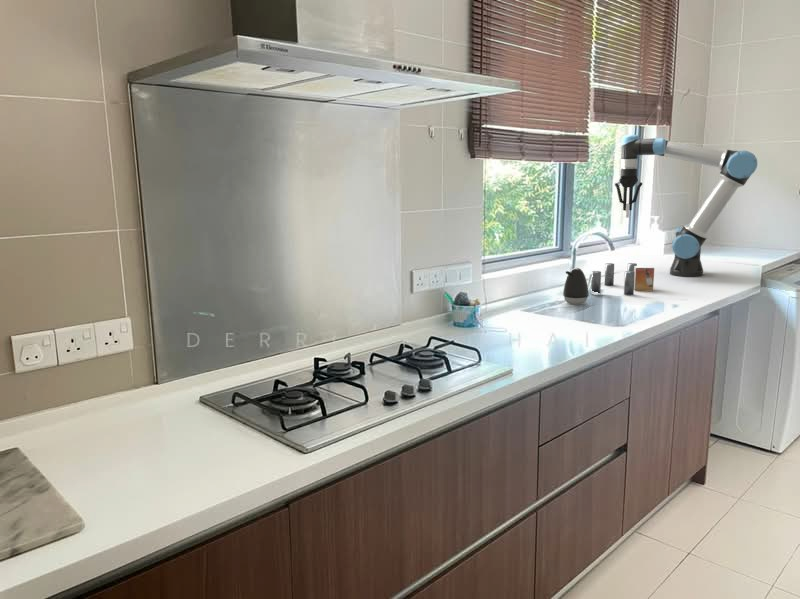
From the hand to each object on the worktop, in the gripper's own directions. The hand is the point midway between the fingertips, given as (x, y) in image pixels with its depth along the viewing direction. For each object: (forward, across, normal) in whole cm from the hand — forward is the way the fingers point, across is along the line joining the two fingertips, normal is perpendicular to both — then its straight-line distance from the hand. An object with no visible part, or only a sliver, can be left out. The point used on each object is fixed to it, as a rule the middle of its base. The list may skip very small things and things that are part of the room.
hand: (627, 217), depth 313 cm
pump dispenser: (+30, +28, +61) cm, 73 cm away
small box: (+30, -4, +32) cm, 44 cm away
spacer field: (+29, +9, +32) cm, 44 cm away
